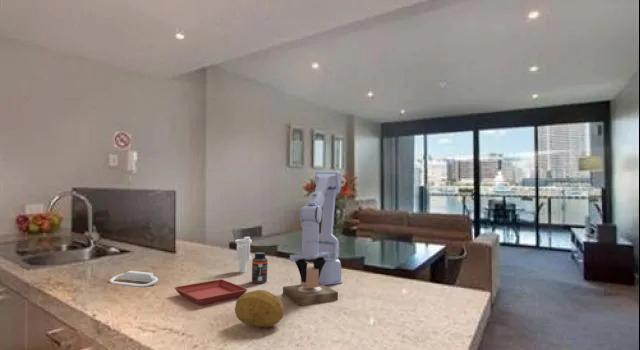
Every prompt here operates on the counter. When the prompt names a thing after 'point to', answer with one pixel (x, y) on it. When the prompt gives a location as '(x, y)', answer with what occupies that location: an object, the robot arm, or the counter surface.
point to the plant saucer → (210, 292)
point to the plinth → (310, 294)
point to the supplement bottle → (259, 268)
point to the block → (311, 278)
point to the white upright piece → (243, 253)
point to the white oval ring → (136, 278)
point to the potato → (259, 309)
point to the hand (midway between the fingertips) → (309, 280)
